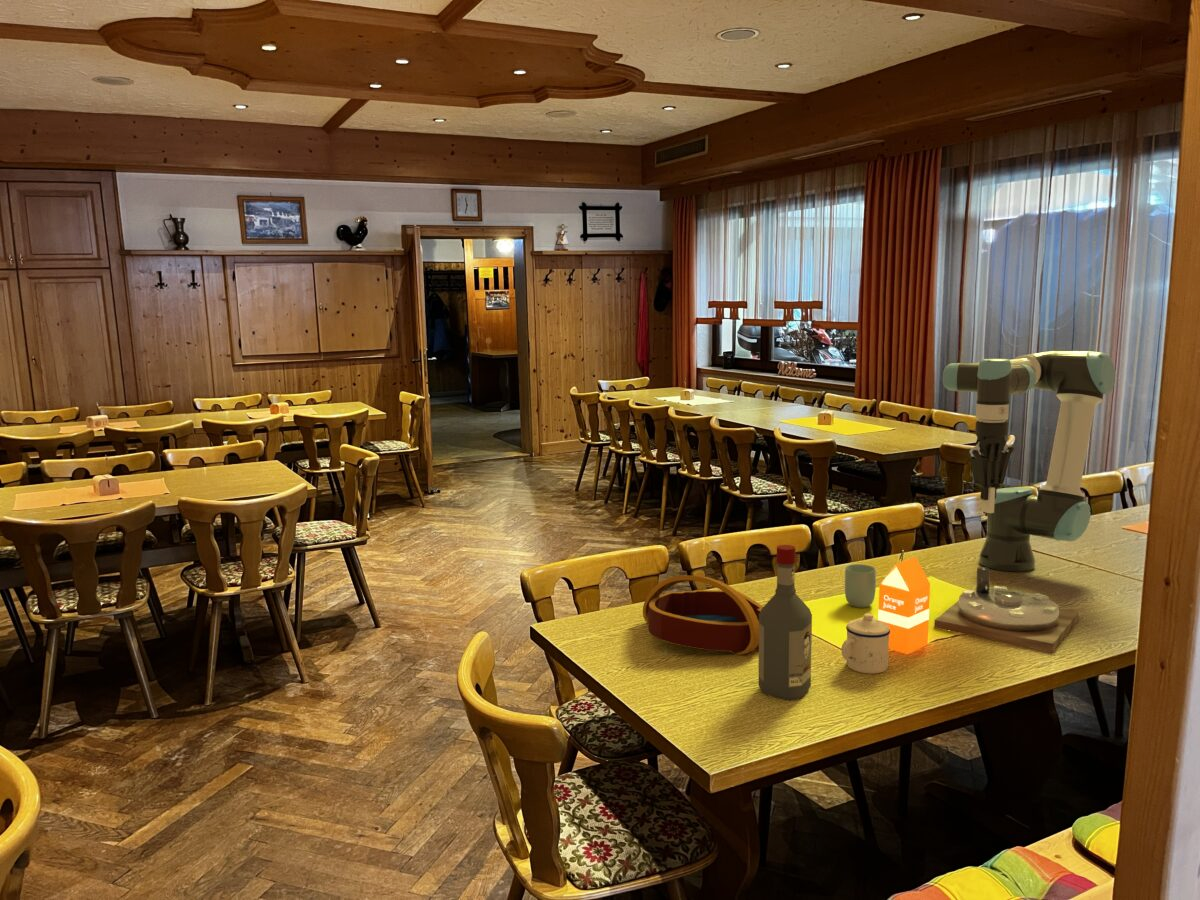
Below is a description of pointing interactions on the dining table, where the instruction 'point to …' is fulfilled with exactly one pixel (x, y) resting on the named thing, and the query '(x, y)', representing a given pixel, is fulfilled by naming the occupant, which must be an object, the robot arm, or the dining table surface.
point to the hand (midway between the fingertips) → (987, 511)
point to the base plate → (1031, 639)
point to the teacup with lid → (867, 645)
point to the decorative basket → (703, 616)
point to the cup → (860, 585)
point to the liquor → (785, 636)
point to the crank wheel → (1007, 607)
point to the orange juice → (905, 606)
